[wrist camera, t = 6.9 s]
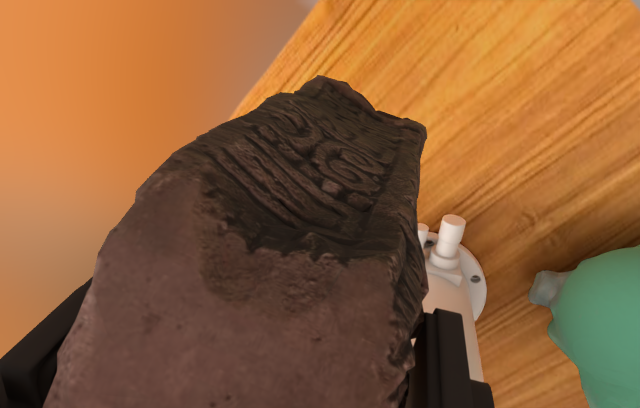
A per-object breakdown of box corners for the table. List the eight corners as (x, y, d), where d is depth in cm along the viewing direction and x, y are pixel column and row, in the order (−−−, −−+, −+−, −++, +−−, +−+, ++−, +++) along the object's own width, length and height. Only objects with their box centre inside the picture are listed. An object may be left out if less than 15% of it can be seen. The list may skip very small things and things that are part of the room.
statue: (285, 176, 26) (-13, 611, 8) (308, 46, 22) (-118, 303, 5) (404, 208, 25) (367, 754, 7) (446, 79, 22) (560, 518, 4)
